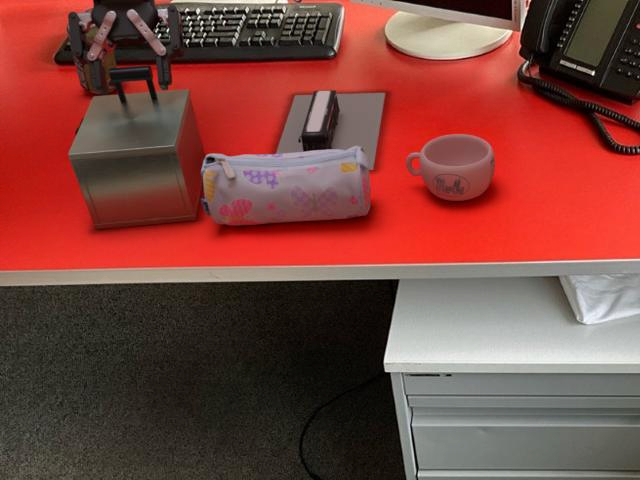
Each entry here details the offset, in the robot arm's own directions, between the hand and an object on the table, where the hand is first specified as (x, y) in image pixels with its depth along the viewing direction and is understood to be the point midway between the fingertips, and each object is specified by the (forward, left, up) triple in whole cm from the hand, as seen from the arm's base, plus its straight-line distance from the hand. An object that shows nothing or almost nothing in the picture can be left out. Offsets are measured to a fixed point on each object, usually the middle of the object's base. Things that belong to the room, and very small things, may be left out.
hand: (133, 90), depth 116 cm
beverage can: (-4, +33, -13) cm, 36 cm away
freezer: (-1, -5, -13) cm, 14 cm away
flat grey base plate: (+26, +3, -13) cm, 29 cm away
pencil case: (+15, -18, -13) cm, 27 cm away
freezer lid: (-1, -4, -3) cm, 5 cm away
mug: (+36, -21, -13) cm, 43 cm away
